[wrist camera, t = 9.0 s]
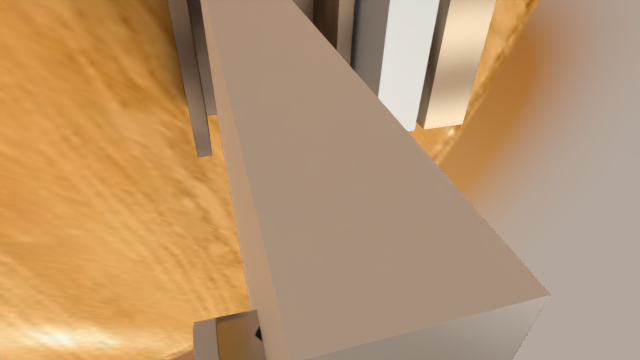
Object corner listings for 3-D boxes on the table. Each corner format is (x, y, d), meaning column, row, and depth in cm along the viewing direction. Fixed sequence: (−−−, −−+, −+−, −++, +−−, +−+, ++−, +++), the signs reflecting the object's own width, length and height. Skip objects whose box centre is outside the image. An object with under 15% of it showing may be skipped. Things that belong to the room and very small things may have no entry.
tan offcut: (384, -61, 29) (457, -34, 22) (421, -61, 30) (505, -36, 22) (370, 72, 35) (423, 129, 28) (401, 69, 36) (462, 124, 28)
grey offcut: (334, -60, 28) (394, -32, 21) (374, -61, 29) (446, -34, 21) (329, 75, 34) (373, 135, 27) (362, 72, 35) (414, 130, 28)
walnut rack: (153, -107, 25) (148, -99, 20) (443, -103, 29) (502, -96, 24) (194, 111, 34) (197, 157, 29) (410, 88, 39) (448, 124, 33)
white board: (191, -58, 20) (292, 363, 3) (241, -59, 20) (550, 294, 4) (222, 148, 27) (301, 602, 10) (258, 143, 28) (387, 567, 11)
